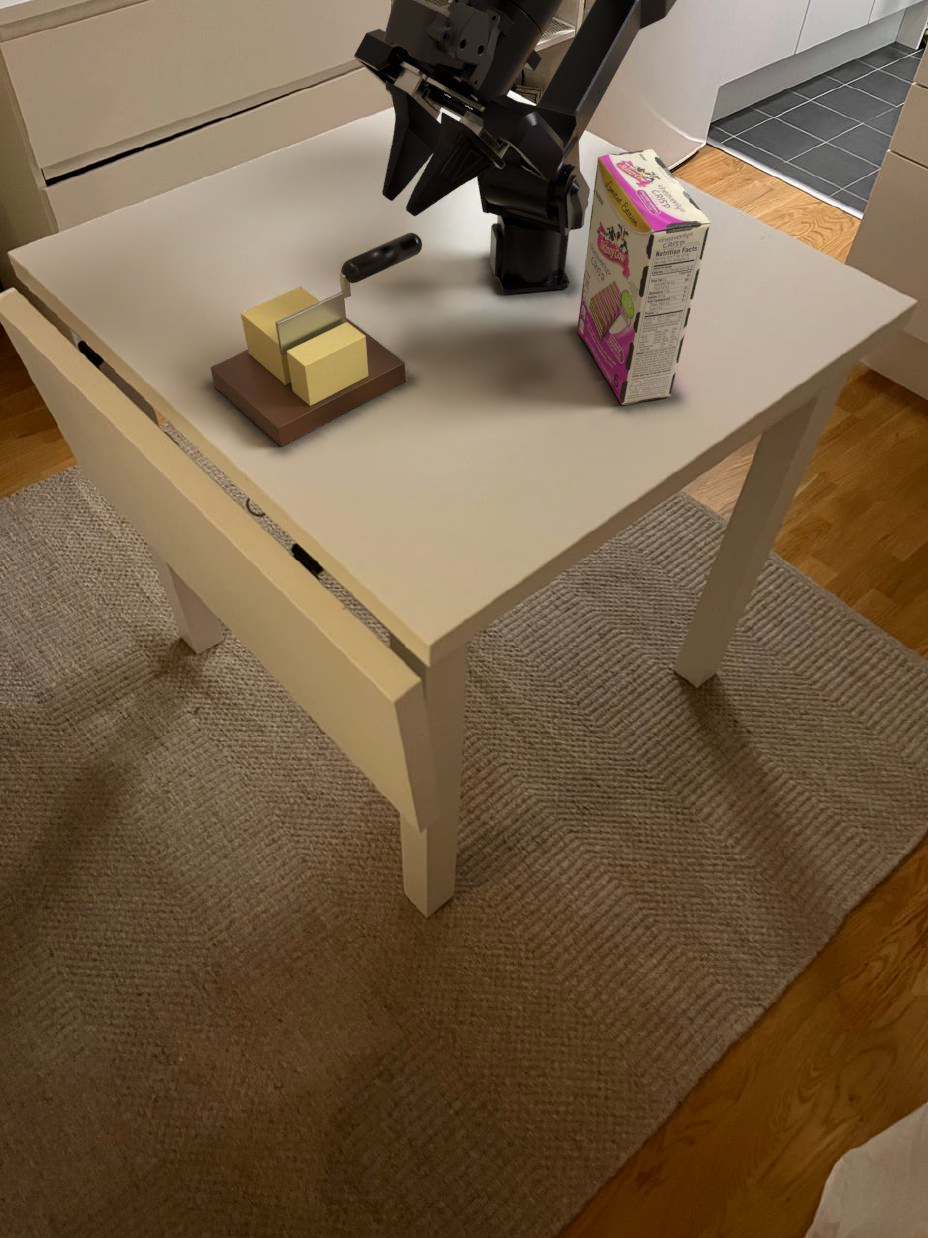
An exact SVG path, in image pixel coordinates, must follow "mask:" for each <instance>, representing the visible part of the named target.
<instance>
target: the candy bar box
mask: <svg viewBox="0 0 928 1238" xmlns="http://www.w3.org/2000/svg"><path fill="white" fill-rule="evenodd" d="M594 179H595V180H594V187H593V188H594V189H593V194H592V195H593V196H592V206H591V214H590V221H589V229H588V238H587V248H586V254H585V255H586V256H585V263H584V273H583V281H582V289H581V298H580V306H579V313H578V320H577V328H576V331H577V332H578V334H579V336H580V337H581V339H582V341H583V342H584V344H585V346H586V347H587V349H588V351H589V352H590V354H591V356H592V357H593V359H594V361H595V363H596V364H597V366H598V368H599V369H600V371H601V372H602V375H603V376H604V377H605V380H606V381H607V382H608V384H609V386H610V387H611V390H612V392H613V393H614V395H615V396H616V399H617V400H618V401H619V403H620V405H621V406H627V405H628V406H629V405H635V404H638V403H643V402H647V401H653V400H659V399H665V398H669V397H670V398H671V396H672V393H673V392H672V391H673V388H674V383H675V379H676V374H677V372H678V371H677V370H678V366H679V361H680V357H681V353H682V347H683V344H684V339H685V335H686V331H687V326H688V322H689V318H690V314H691V309H692V305H693V301H694V296H695V291H696V287H697V283H698V279H699V278H698V277H699V274H700V269H701V266H702V261H703V256H704V251H705V248H706V244H707V239H708V235H709V230H710V227H711V225H712V224H711V223H712V222H711V220H710V219H709V218H708V217H707V216H706V214H705V213H704V212H703V211H702V209H700V207H699V206H698V204H697V203H696V202H695V201H694V199H693V198H692V197H691V196H690V194H688V192H687V190H686V189H685V188H684V187H683V186H682V184H681V183H680V182H679V181H678V180H677V178H676V176H674V174H673V173H672V172H671V170H670V169H669V168H668V166H666V164H665V163H664V162H663V160H662V159H661V158H660V157H659V155H658V154H657V153H656V152H655V150H654V149H653V148H649V149H642V150H635V151H625V152H620V153H609V154H605V155H601V156H598V157H597V161H596V171H595V178H594Z"/></svg>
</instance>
